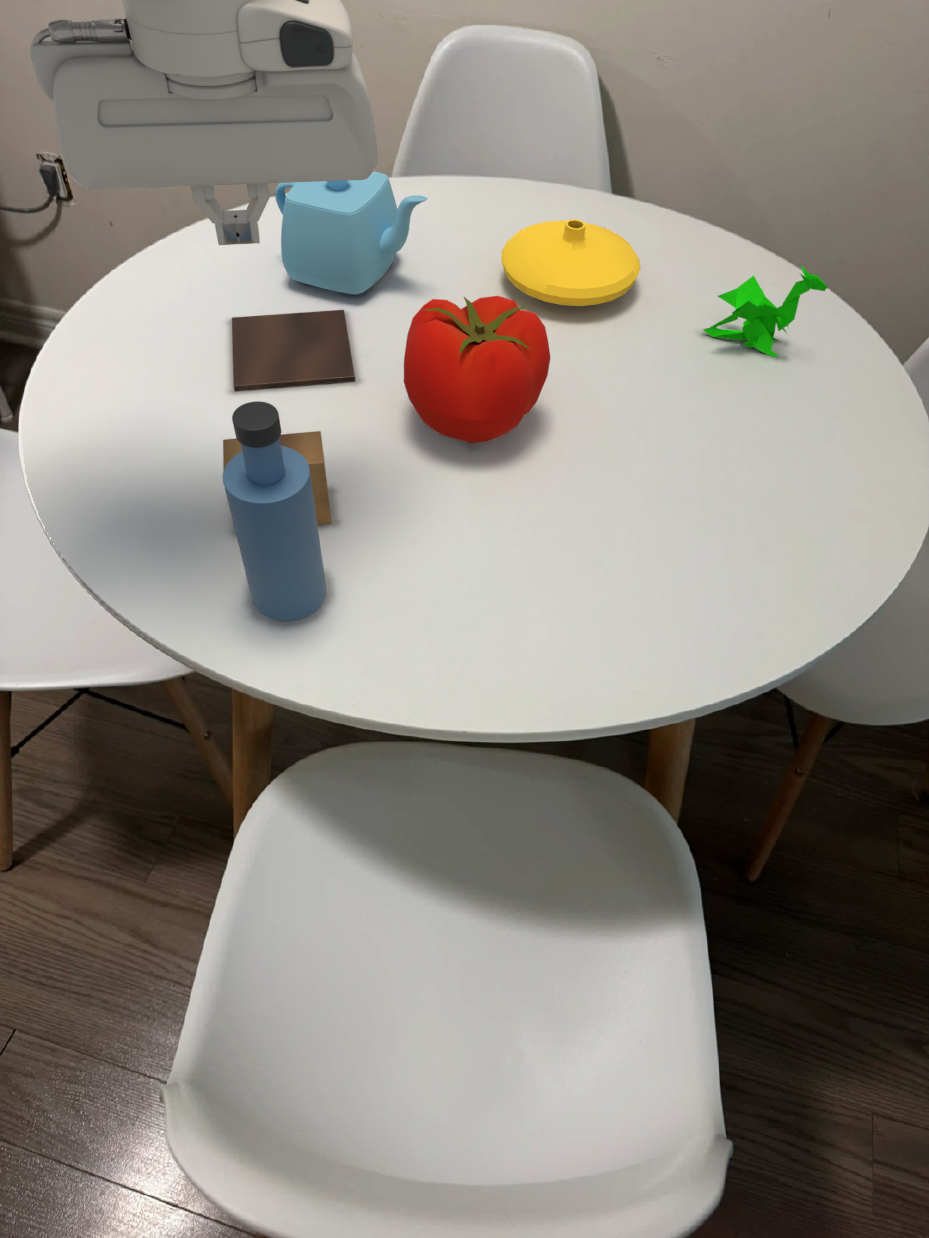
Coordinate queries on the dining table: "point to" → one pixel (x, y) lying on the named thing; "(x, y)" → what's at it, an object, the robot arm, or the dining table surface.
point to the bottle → (274, 517)
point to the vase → (570, 263)
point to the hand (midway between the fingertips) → (239, 240)
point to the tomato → (475, 366)
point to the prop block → (313, 453)
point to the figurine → (762, 312)
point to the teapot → (342, 231)
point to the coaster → (291, 350)
